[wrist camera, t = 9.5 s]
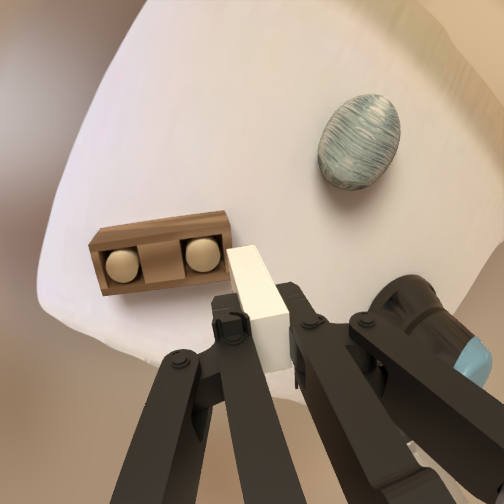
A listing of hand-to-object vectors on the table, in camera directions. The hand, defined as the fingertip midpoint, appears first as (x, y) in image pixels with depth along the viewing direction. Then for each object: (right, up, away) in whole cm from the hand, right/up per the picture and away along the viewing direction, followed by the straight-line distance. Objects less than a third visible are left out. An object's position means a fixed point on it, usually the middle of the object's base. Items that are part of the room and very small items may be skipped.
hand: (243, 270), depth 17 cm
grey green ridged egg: (+13, +17, +24) cm, 32 cm away
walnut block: (-11, +2, +25) cm, 27 cm away
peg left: (-16, +1, +24) cm, 29 cm away
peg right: (-6, +3, +26) cm, 27 cm away
